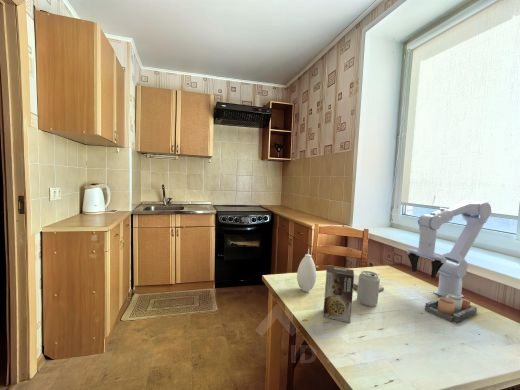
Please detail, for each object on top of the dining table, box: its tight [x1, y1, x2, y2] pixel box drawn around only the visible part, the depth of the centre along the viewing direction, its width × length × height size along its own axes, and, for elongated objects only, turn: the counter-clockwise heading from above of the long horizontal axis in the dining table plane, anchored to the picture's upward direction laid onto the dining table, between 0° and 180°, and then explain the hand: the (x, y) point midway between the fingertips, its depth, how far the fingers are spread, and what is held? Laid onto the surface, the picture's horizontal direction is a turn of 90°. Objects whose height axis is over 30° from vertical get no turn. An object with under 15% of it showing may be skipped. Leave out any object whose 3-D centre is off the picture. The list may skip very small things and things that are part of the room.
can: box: [356, 270, 381, 308], centre depth 99 cm, size 8×8×12 cm
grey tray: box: [424, 296, 478, 324], centre depth 97 cm, size 17×10×2 cm, turn 120°
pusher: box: [447, 293, 471, 311], centre depth 100 cm, size 2×7×4 cm, turn 30°
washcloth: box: [353, 273, 385, 293], centre depth 117 cm, size 12×18×3 cm, turn 34°
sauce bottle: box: [296, 248, 317, 293], centre depth 107 cm, size 8×8×18 cm
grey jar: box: [446, 294, 463, 314], centre depth 98 cm, size 5×5×6 cm
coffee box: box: [322, 265, 355, 324], centre depth 88 cm, size 9×6×16 cm
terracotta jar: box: [436, 296, 455, 317], centre depth 95 cm, size 5×5×6 cm
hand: (423, 274), depth 108 cm, fingers open, 7 cm apart
